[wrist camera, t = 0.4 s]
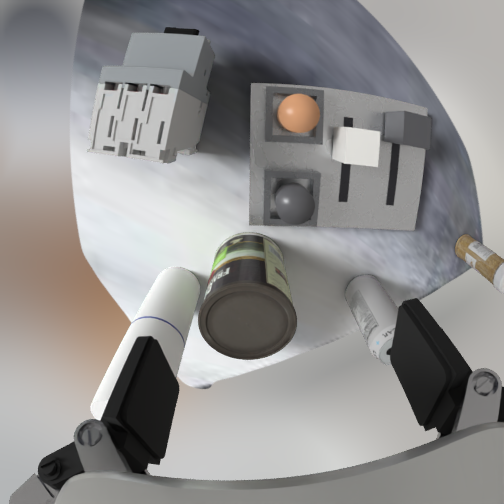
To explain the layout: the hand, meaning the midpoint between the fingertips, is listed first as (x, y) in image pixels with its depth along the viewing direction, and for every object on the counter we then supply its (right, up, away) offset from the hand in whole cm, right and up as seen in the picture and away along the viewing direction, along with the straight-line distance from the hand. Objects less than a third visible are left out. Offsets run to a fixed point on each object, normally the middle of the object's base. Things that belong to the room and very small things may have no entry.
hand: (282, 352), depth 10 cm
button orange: (+4, +19, +19) cm, 27 cm away
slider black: (+18, +20, +20) cm, 33 cm away
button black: (+4, +10, +23) cm, 25 cm away
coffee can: (-2, +2, +32) cm, 32 cm away
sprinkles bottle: (+36, +5, +30) cm, 48 cm away
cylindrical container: (-13, -2, +33) cm, 36 cm away
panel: (+11, +16, +25) cm, 32 cm away
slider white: (+11, +17, +22) cm, 29 cm away
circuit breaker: (-10, +24, +22) cm, 34 cm away
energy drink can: (+16, -2, +33) cm, 37 cm away
